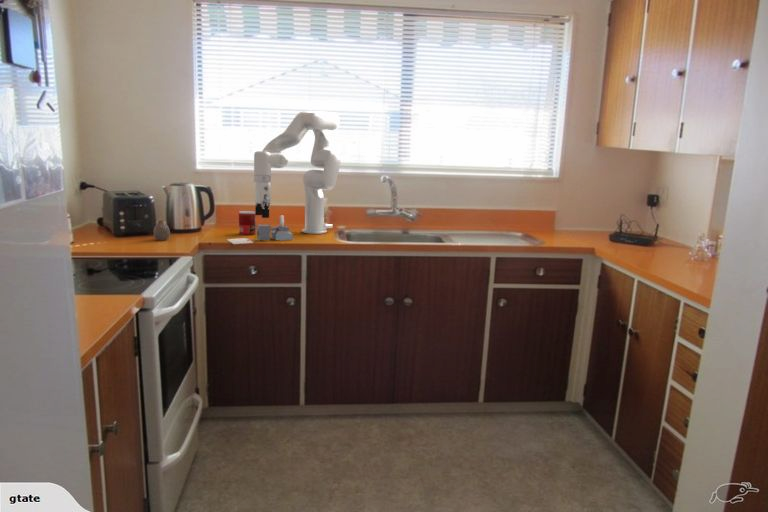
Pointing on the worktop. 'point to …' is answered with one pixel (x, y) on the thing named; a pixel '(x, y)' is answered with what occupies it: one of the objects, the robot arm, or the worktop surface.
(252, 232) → the canned food
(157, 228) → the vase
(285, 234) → the grey joystick
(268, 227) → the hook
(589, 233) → the worktop surface
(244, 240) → the mat
